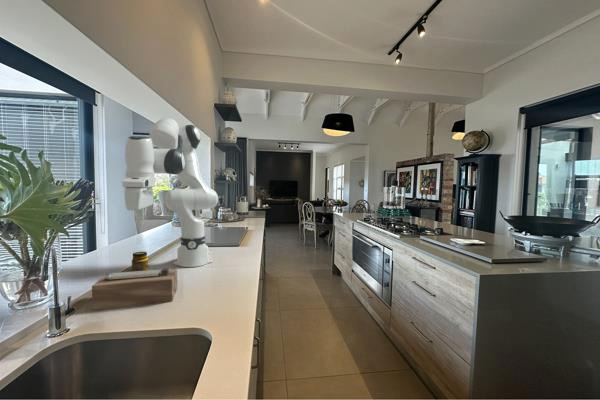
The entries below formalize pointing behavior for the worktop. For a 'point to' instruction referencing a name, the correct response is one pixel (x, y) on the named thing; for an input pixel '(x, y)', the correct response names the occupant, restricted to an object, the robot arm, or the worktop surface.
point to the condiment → (140, 261)
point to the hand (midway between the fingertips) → (141, 220)
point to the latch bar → (132, 274)
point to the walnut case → (134, 290)
